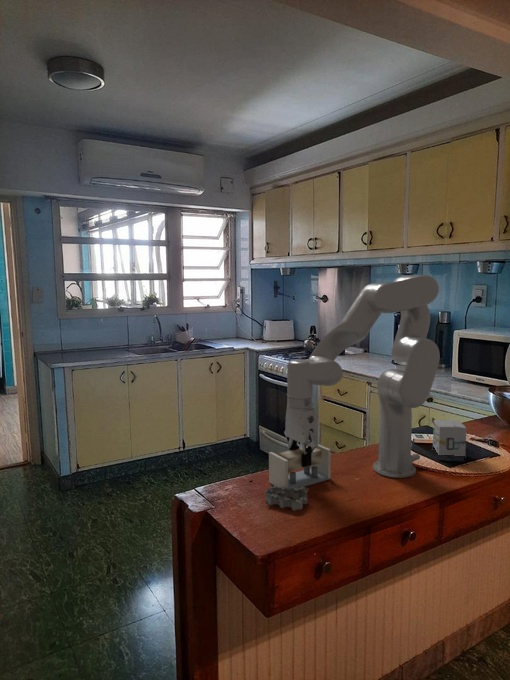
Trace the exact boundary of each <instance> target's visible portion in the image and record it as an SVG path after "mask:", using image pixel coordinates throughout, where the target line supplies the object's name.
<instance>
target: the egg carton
mask: <svg viewBox="0 0 510 680" xmlns="http://www.w3.org/2000/svg"><path fill="white" fill-rule="evenodd" d="M263 492H264V493H265V502H266V503H267V505H268V506H273V505H278V506H279V508H282V509H283V508H290V509H291V511H299V510H302V509H303V508H304V507H303V506H304V505H307V503H308V495H307V493H308V492H309V487H306V486H304V487H298V488H294V487H293V488H288V487H279V488H278V487H277V486H274V485H273V484H272V486H270V487H268V488H267V489H266V490H264V491H263Z"/></svg>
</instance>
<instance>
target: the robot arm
mask: <svg viewBox="0 0 510 680" xmlns="http://www.w3.org/2000/svg"><path fill="white" fill-rule="evenodd" d="M439 287H440V286H439V284H438V282H437V280H436V279H435V278H434V277H433V276H431V275H427V274H407V275H401V276H398V277H397V278H395V279H394V280H393V281H391V282H376V283H375V282H374V283H369V284H367V285H365V286H364V287H363V288H362V290H361V291H360V292H359V293H358V295H357V296H356V298H355V300H354V301H353V302H352V304H351V306H350V307H349V308H348V310H347V312H346V313H345V315H343V317H342V319H341V320H340V321H339V323H338V324H337V325H336V326H334V327H333V328H331V330H330V331H329V333H327V334H326V335H325V336H324V337H323V338H322V339H321V340H320V341H319V342H318V344H317V345H316V346H315V348H314V349H313V351H312V352H311V354H310V356H309V357H308V359H303V358H302V359H292V360H290V361H288V362H287V365H286V366H287V368H286V369H287V370H286V371H287V373H286V377H287V378H286V379H287V381H286V383H287V384H286V385H287V388H286V390H287V391H286V392H287V393H286V396H287V399H286V400H287V401H286V402H287V403H286V405H287V406H286V412H285V423H284V424H285V430H284V431H283V434H284V435H285V438H286V441H287V442H288V443H287V445H288V447H289V451H290V450H295V449H299V448H300V446H299V443H300V444H301V448H302V450H303V453H302V467H307V466H310V465H311V453H312V452H313V450H314V449H315V448H316V447H318V444H319V443H318V438H319V435H318V420H317V413H316V408H314V386H324V387H325V386H326V387H329V386H330V387H331V386H335V385H337V384H338V383H340V381H342V378H343V376H344V374H343V373H344V372H343V368H342V366H341V365H340V364H339V363H338V362H337V361H336V359H337V357H339V355H340V354H341V353H343V351H345V350H346V349H348V348H349V347H351V346H353V345H355V344H357V343H360V342H362V341H363V340H365V339H366V337H367V336H368V334H369V333H370V332H371V329H372V328H373V327H374V325H375V323H376V322H377V320H378V319H379V317H380V316H381V314H394V313H399V312H400V321H399V325H398V329H397V332H396V334H395V338H394V341H393V345H392V346H391V347H392V348H391V354H390V355H391V358H392V360H393V361H394V362H395V363H396V364H398V365H400V366H402V367H405V368H404V370H402V369H399V368H389V369H387V370H384V371H383V372H382V373H381V374H380V375H379V378H378V380H377V385H376V386H377V387H376V388H377V396H378V405H379V406H378V407H379V420H378V421H379V424H378V425H379V427H378V430H379V433H378V460H376V461H374V463H373V465H372V467H373V468H372V469H373V470H374V471H375V473H377V474H379V475H381V476H384V477H387V478H388V477H389V478H393V479H394V478H395V479H399V478H400V479H405V478H410V477H412V476H414V475H416V472H417V471H416V467H415V465H413V463H414V462H415V461H418V460H420V458H421V456H420V454H419V453H414V454H412V428H413V427H412V426H413V425H412V423H413V411H412V409H416V408H419V407H421V406H422V405H424V404H425V403H426V401H427V400H428V398H429V395H430V393H431V390H432V388H433V383H434V381H435V378H436V374H437V372H438V369H439V365H440V359H441V357H440V349H439V347H438V345H437V344H436V343H435V342H434V340H431V339H429V338H427V337H428V333H429V328H430V325H431V324H430V323H431V312H430V308H429V306H428V305H429V304H431V303H432V302H434V301H435V300H436V299H437V297H438V294H439V291H440V289H439ZM307 446H308V447H307ZM306 447H307V448H306ZM310 467H311V466H310Z"/></svg>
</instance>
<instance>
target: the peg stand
mask: <svg viewBox="0 0 510 680" xmlns="http://www.w3.org/2000/svg"><path fill="white" fill-rule="evenodd" d="M316 448H318V449H320V450H321V463H320V464H317V465H313V466H310V467H306V468H303V470H299V471H291V472H288V460H286V459H285V458H283V457H281V456H279V455H278V454H277V453H275V452H273V451H270V452H268V483H270V484H272V486H273V485H274V486H277V487H278V488H279V487H288V488H293V487H294V488H298V487H306V486H310V485H314V484H317V483H321V482H325V481H328V480H331V468H332V467H331V462H332V461H331V458H332V456H331V452H332V451H331V450H332V449H331V448H328V447H326V446H323V445H321V444H319V443H318V447H316Z"/></svg>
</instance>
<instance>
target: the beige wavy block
mask: <svg viewBox="0 0 510 680" xmlns="http://www.w3.org/2000/svg"><path fill="white" fill-rule="evenodd" d="M307 447H308V445H306V448H307ZM302 453H303V450H302V447H299V449H295V450H290V449H289V450H286V451H283V452H279V453H278V454H277V455H279V456H281V457H283V458H285V459H286V460H288V473H290V472H296V471H298V470H299V471H300V470H301V469H304V468H306V467H302ZM320 463H321V450H320V449H318V448H315V449H314V450H313V452H312V453H311V465H310V466H307V467H310V468H311V466H313V465H317V464H320Z"/></svg>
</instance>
